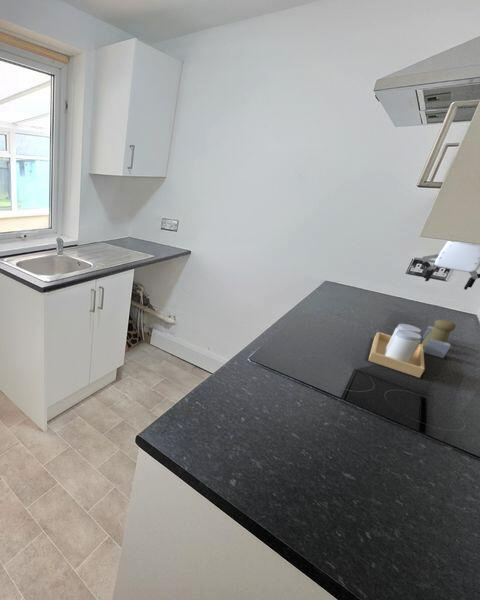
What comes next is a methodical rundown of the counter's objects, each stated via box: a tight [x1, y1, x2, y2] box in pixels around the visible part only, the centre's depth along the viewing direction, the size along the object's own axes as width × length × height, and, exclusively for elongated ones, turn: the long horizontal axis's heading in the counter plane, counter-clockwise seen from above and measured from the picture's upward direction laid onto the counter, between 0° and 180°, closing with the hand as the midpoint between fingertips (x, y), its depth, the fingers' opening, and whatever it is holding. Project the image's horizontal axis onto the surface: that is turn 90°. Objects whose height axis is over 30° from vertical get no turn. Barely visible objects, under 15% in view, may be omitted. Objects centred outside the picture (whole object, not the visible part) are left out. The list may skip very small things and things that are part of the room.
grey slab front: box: [423, 338, 451, 359], centre depth 112 cm, size 5×3×5 cm, turn 45°
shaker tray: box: [367, 331, 426, 378], centre depth 109 cm, size 13×23×3 cm, turn 135°
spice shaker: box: [384, 323, 422, 353], centre depth 107 cm, size 6×6×11 cm
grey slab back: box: [422, 325, 434, 340], centre depth 122 cm, size 5×3×5 cm, turn 45°
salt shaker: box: [384, 330, 423, 363], centre depth 103 cm, size 6×6×11 cm
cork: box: [420, 318, 456, 348], centre depth 115 cm, size 6×6×11 cm
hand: (445, 284), depth 112 cm, fingers open, 9 cm apart
